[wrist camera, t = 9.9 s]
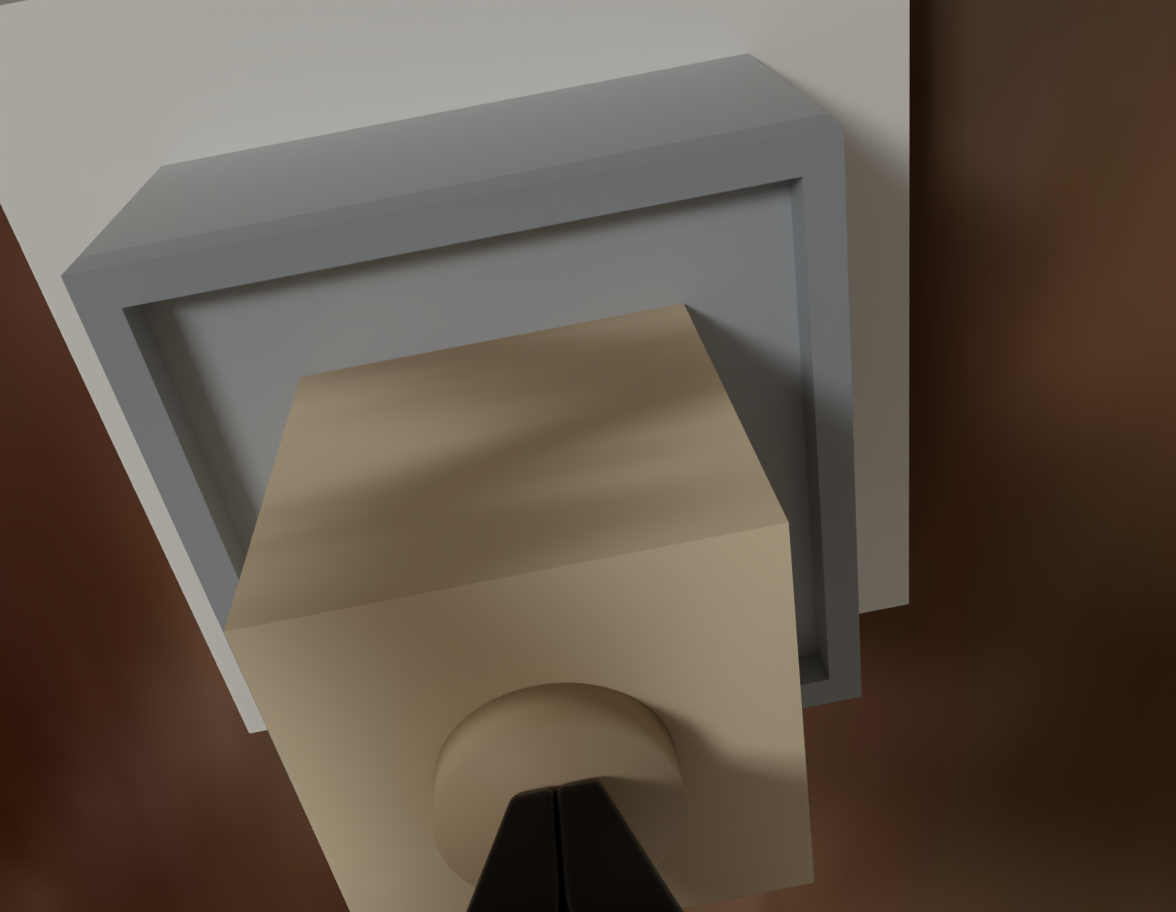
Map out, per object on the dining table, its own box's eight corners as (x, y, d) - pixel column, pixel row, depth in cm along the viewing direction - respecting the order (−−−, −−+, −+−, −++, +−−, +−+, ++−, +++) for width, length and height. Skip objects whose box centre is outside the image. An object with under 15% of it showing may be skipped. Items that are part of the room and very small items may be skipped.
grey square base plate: (872, -168, 16) (1078, -171, 10) (884, 561, 23) (1008, 772, 18) (-41, 6, 16) (-292, 91, 10) (261, 682, 23) (202, 933, 18)
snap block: (683, 303, 13) (808, 563, 9) (719, 602, 16) (830, 929, 11) (300, 377, 13) (209, 679, 8) (399, 663, 16) (372, 1021, 11)
